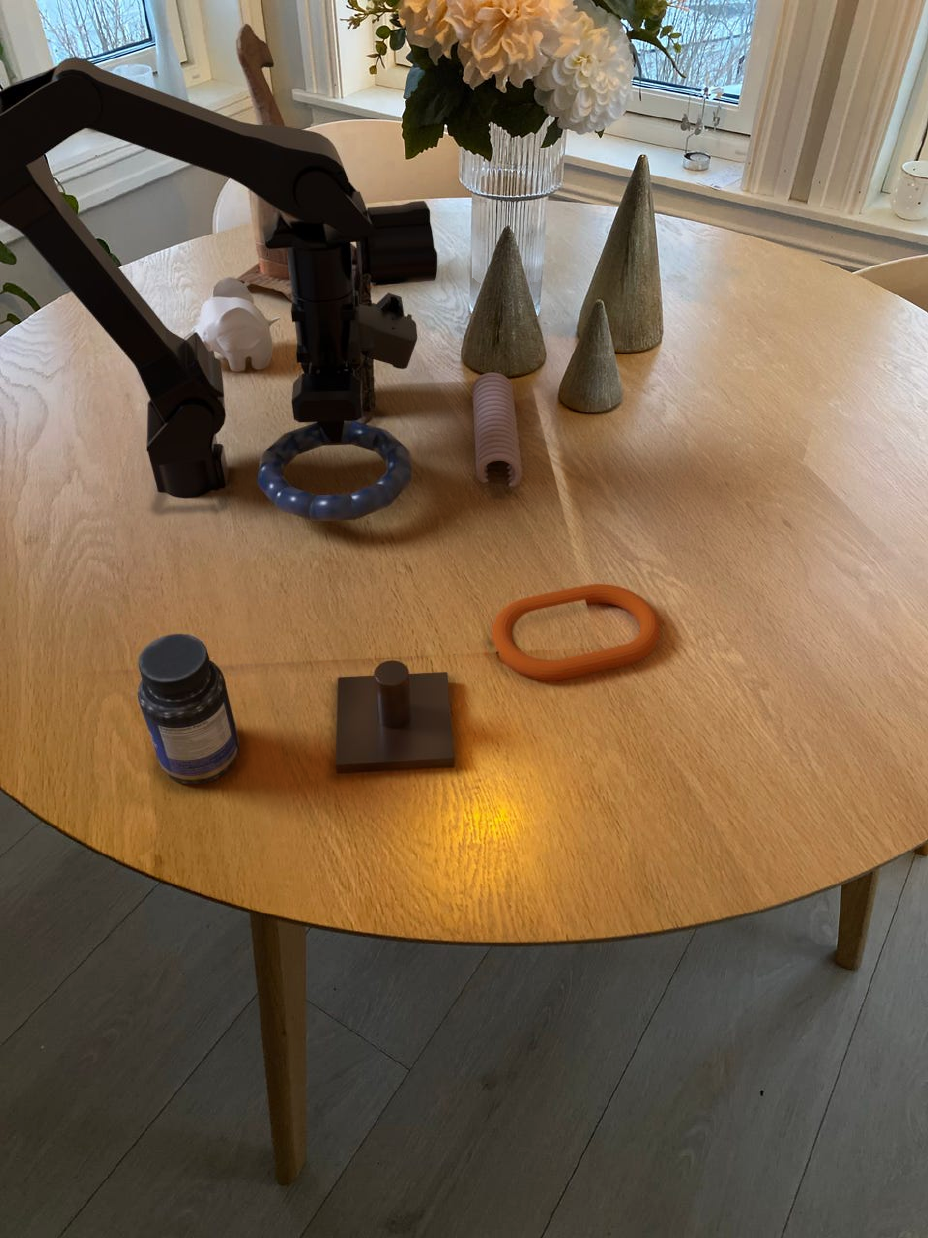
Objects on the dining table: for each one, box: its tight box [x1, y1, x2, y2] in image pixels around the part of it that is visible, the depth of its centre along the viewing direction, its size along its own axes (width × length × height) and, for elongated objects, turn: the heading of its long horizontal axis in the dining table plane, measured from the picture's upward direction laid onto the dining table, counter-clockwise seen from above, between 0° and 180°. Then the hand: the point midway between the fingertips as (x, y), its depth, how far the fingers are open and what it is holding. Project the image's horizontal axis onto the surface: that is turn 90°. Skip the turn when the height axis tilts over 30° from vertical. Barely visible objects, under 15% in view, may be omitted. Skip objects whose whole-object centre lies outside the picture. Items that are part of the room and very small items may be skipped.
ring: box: [257, 421, 413, 522], centre depth 94 cm, size 15×15×2 cm
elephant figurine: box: [183, 276, 281, 373], centre depth 116 cm, size 10×12×9 cm
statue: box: [351, 243, 378, 424], centre depth 103 cm, size 7×7×20 cm
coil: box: [471, 371, 523, 488], centre depth 104 cm, size 5×5×18 cm
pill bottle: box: [137, 633, 240, 785], centre depth 70 cm, size 6×6×11 cm
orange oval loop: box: [491, 583, 661, 681], centre depth 83 cm, size 10×2×15 cm
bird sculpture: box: [235, 23, 295, 302], centre depth 123 cm, size 11×12×32 cm
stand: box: [335, 659, 456, 775], centre depth 74 cm, size 9×9×6 cm
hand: (336, 434), depth 98 cm, fingers closed on ring, 2 cm apart
